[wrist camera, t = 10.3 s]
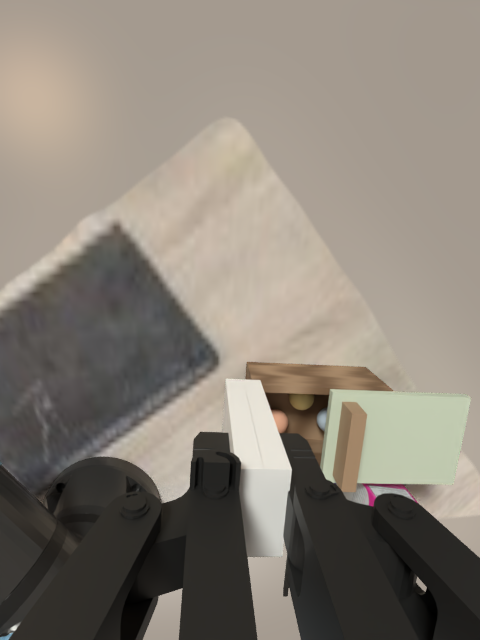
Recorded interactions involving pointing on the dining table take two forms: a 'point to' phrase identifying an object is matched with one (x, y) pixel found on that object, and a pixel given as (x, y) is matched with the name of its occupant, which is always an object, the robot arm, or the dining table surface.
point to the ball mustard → (301, 400)
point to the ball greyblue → (322, 418)
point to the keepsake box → (309, 392)
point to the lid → (392, 437)
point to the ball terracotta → (280, 420)
